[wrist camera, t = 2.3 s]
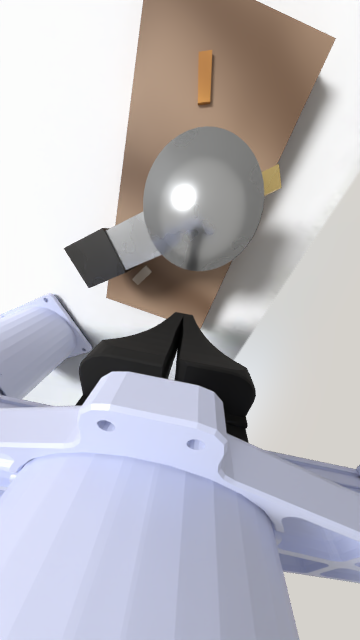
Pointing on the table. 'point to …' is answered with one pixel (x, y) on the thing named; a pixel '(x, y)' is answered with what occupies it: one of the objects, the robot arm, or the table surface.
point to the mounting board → (208, 113)
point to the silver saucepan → (185, 209)
